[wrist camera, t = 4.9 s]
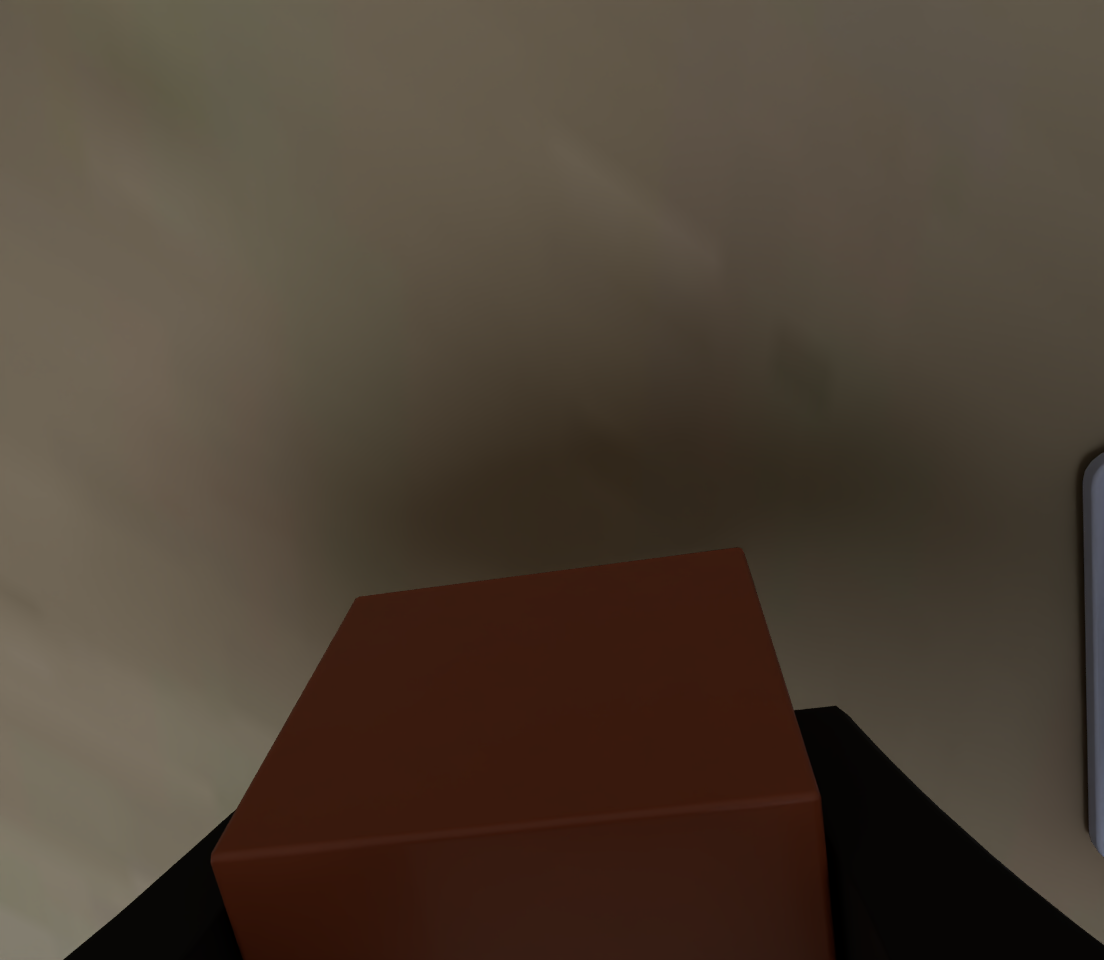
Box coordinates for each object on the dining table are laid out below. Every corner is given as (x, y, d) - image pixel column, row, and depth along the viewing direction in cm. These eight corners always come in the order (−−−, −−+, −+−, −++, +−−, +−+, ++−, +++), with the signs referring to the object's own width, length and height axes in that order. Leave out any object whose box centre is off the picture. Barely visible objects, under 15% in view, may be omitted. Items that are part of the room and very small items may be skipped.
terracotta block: (742, 544, 10) (821, 793, 6) (781, 872, 11) (867, 1250, 7) (354, 594, 10) (202, 858, 7) (433, 904, 12) (344, 1278, 8)
